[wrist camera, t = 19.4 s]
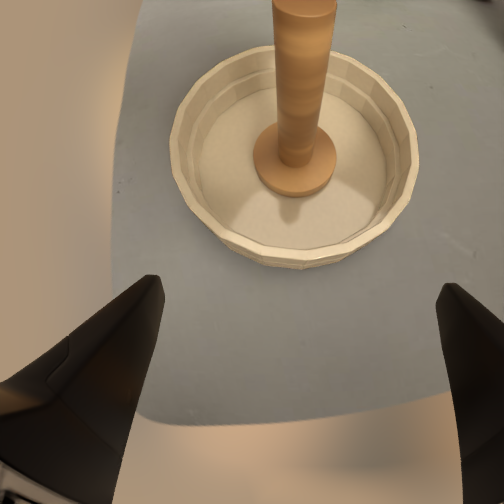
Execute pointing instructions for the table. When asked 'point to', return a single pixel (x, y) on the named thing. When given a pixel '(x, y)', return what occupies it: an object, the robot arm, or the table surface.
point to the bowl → (275, 205)
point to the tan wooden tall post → (298, 101)
